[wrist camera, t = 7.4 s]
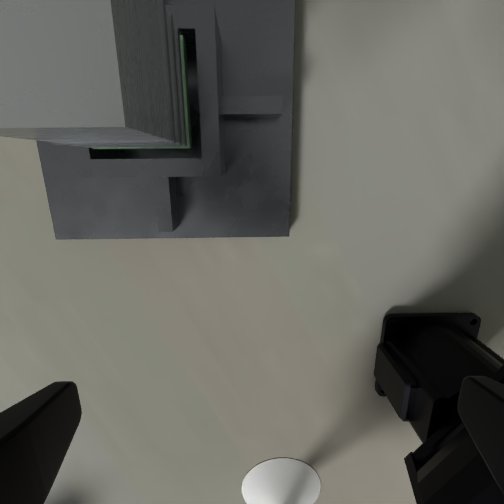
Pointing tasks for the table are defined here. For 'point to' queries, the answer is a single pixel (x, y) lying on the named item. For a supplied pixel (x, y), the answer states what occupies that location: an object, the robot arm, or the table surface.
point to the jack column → (93, 74)
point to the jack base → (197, 140)
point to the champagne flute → (281, 483)
